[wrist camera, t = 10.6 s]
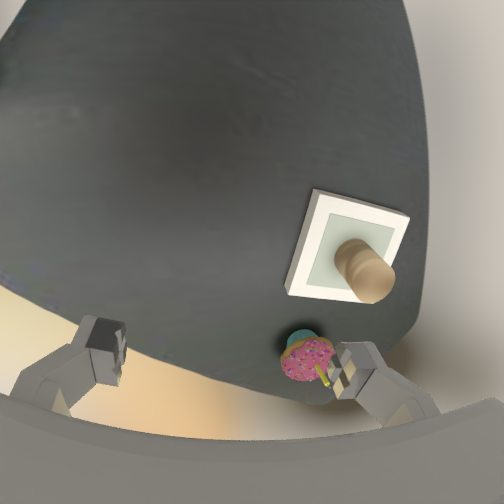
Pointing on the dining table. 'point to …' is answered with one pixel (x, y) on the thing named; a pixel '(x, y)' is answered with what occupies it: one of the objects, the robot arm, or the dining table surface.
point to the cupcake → (307, 356)
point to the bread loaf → (364, 270)
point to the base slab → (339, 243)
